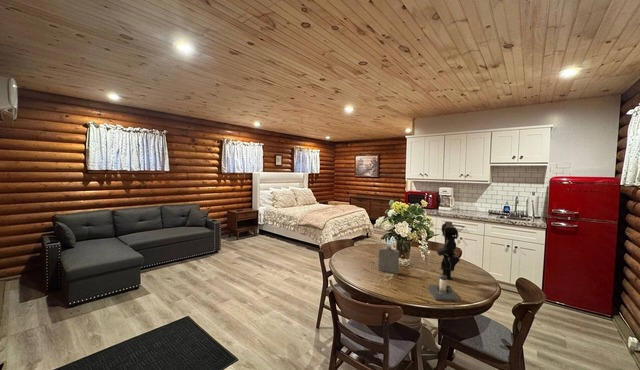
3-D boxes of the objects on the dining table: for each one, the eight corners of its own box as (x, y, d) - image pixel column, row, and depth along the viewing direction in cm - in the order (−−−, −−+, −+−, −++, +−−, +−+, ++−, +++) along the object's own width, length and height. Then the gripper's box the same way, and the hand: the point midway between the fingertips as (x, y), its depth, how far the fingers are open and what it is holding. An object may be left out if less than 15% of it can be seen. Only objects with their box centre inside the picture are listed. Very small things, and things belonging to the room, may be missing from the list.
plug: (437, 294, 171) (438, 275, 170) (441, 293, 172) (442, 274, 172) (442, 297, 167) (443, 277, 166) (447, 296, 169) (448, 276, 168)
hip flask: (377, 270, 210) (378, 245, 209) (378, 268, 214) (379, 244, 212) (398, 274, 203) (399, 248, 202) (398, 272, 207) (399, 247, 206)
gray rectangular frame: (428, 290, 177) (429, 284, 177) (449, 291, 176) (449, 285, 175) (435, 299, 164) (435, 293, 164) (457, 301, 163) (457, 294, 162)
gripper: (433, 240, 193) (432, 261, 194) (442, 248, 175) (441, 271, 176) (449, 241, 192) (448, 262, 193) (460, 249, 173) (459, 272, 174)
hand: (448, 267), depth 184 cm, fingers open, 9 cm apart
